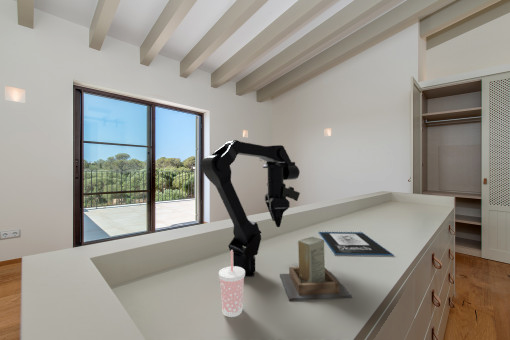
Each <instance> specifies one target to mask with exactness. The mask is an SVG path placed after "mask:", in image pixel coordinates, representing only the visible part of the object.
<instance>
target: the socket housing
mask: <svg viewBox="0 0 510 340" xmlns="http://www.w3.org/2000/svg"><path fill="white" fill-rule="evenodd" d="M288 269H289V270H288V271H289V273H280V274H279V278H280V280H281V282H282V286H283V288H284V291H285V294H286V296H287V298H288V302H294V301H311V300H312V301H314V300H316V301H317V300H330V299H331V300H332V299H349V298H350V299H351V298H353V295H352V294H351V292H350V291H349V290H348V289H347V288H346V287H345V286H344V285H343V284H342V283H341V281H340V280H339V279H337V277H336V276H335V275H334V274H333V273H332V272H331V271H329V270H328V269H327V268H326V267H325V282H316V283H301V281H300V280H299V266H289V268H288Z"/></svg>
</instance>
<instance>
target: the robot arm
mask: <svg viewBox="0 0 510 340" xmlns="http://www.w3.org/2000/svg"><path fill="white" fill-rule="evenodd" d="M239 155H241V156H247V157H255V158H260V159H262V160H263V161H264V162H265V161H266V162H265V164H263V165H262V168H263V169H267V183H266V186H267V193H266V194H265V195H264V201H265V204H266V207H267V210H268V212H269V214H270V217H271V220H272V222H274V224H275V226H276V227H277V228H280V227H281V224H282V219H283V216H284V213H285V212H286V211H287V210H289V208H290V205H291V204H290V201H289V200H288V199H287V198H289V199H291V200H293V201H296V202H298V199H299V198H300V194H301V192H299V191H297V190H295V188H294V187H293V186H290V185H289V186H288V187H286V183H284V181H288V180H290V181H291V180H297V179H298V178H299V177H300V169H299V167H298V166H297V165H296V162H295V161H292V160H291V158H290V157H289V154H288V152H287V150H286V149H285V146H283V145H281V144H280V145H275V144H274V145H261V144H255V143H250V142H244V141H241V140H237V139H234V140H233V139H232V140H228V141H226V142H225V144H224V143H223V145H222V146H221V147H219V149H217V150H215V151H214V152H212V153H211V154H210V155H207V156H205V157H204V158H202V160H201V162H200V168H201V169H200V170H201V172H203V174H204V175H205V177H206V178H207V180H208V181H210V182H211V183H212V185H214V186H215V188H216V190H217V192H218V194H219V196H220V199H221V202H222V203H223V204H224V207H225V209H226V211H227V214H228V216H229V217H230V219H231V222H232V224H233V231H232V233H233V238H232V240H231V241H230V243H229V244H228V249H229V252H231V250H233V266H238V267H241V268H243V269H244V270H245V276H244V278H245V277H246V278H247V277H255V272H256V257H255V256H257V255H258V253H259V249H260V245H261V240H262V235H261V234H262V231H261V230H260V227H259V224H258V223H257V222H256V221H252V220H249V219H248V216H247V215H246V212H245V209H244V207H243V205H242V203H241V201H240V198H239V196H238V194H237V191H236V189H235V187H234V184H233V183H232V180H231V179H232V168H231V165H232V164H233V162H235V160H236V158H237V157H238V156H239Z"/></svg>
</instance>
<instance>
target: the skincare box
mask: <svg viewBox="0 0 510 340" xmlns="http://www.w3.org/2000/svg"><path fill="white" fill-rule="evenodd" d="M297 243H298V244H297V245H298V249H297V250H298V267H299V280H300V281H301V283H316V282H325V268H326V267H325V265H326V264H325V262H326V261H325V242H324V240H323V239H322V238H318V237H315V236H311V237H310V236H309V237H306V238H303V239H300V240H298V241H297Z"/></svg>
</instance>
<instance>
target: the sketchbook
mask: <svg viewBox="0 0 510 340" xmlns="http://www.w3.org/2000/svg"><path fill="white" fill-rule="evenodd" d="M318 235H319V236H321V237H320V239H322V240H324V244H325V245H326V246H327V248H328V249H329V250H330V252H331V253H332V255H333V256H335V257H336V256H337V257H338V256H339V257H340V256H341V257H342V256H344V257H389V258H392V257H395V254H393V253H392V252H390V251H389V250H388V249H387V248H385V247H383V246H382V245H381V244H380V243H378V242H377V241H375V240H374V239H372V238H371V237H369V236H368V235H366V233H364V232H362V231H357V230H356V231H354V230H349V231H346V230H345V231H344V230H343V231H340V230H338V231H337V230H334V231H332V230H331V231H329V230H327V231H326V230H324V231H321V230H319V231H318Z"/></svg>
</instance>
